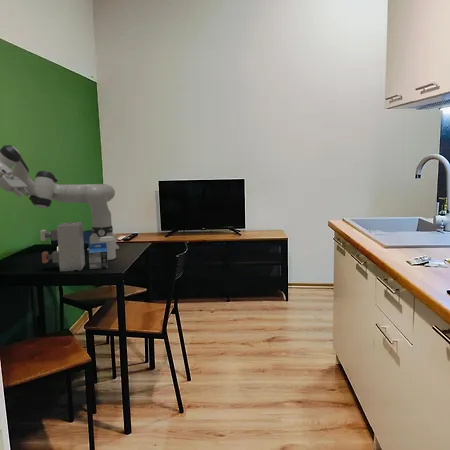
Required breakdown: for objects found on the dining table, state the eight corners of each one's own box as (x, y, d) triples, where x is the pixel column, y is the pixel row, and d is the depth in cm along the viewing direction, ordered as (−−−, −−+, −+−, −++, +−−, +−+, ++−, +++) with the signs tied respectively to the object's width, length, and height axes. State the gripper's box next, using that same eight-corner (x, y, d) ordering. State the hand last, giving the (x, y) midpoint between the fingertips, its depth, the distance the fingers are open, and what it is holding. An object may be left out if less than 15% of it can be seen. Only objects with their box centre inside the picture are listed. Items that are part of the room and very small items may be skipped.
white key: (42, 239, 231) (42, 229, 230) (54, 238, 232) (53, 229, 231) (40, 241, 226) (40, 231, 226) (52, 240, 227) (52, 230, 226)
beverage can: (100, 261, 247) (98, 238, 246) (101, 258, 255) (99, 236, 254) (115, 260, 249) (114, 238, 247) (116, 257, 257) (115, 235, 255)
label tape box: (89, 269, 228) (87, 245, 226) (89, 267, 232) (88, 243, 230) (107, 268, 230) (106, 243, 228) (108, 266, 234) (106, 242, 232)
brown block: (44, 261, 232) (43, 251, 232) (56, 260, 233) (55, 251, 233) (42, 263, 228) (41, 253, 227) (54, 262, 229) (53, 253, 228)
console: (56, 265, 238) (53, 223, 235) (85, 264, 240) (82, 221, 237) (51, 272, 224) (48, 226, 221) (81, 270, 227) (78, 225, 224)
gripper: (8, 180, 237) (28, 199, 239) (-11, 180, 217) (11, 201, 218) (17, 171, 237) (37, 190, 238) (-1, 170, 217) (21, 191, 218)
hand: (24, 195), depth 228 cm, fingers open, 8 cm apart
